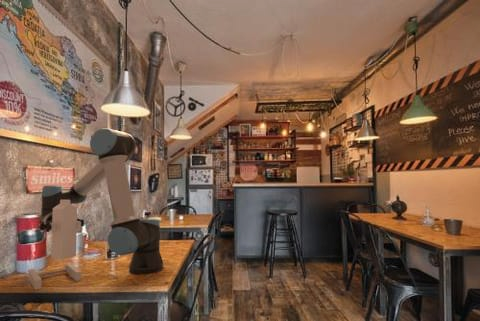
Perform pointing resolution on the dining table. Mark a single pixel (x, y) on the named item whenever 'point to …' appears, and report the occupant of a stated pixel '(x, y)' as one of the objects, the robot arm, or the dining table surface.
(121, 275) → the dining table surface
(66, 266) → the brown piece
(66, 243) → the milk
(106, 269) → the dining table surface
